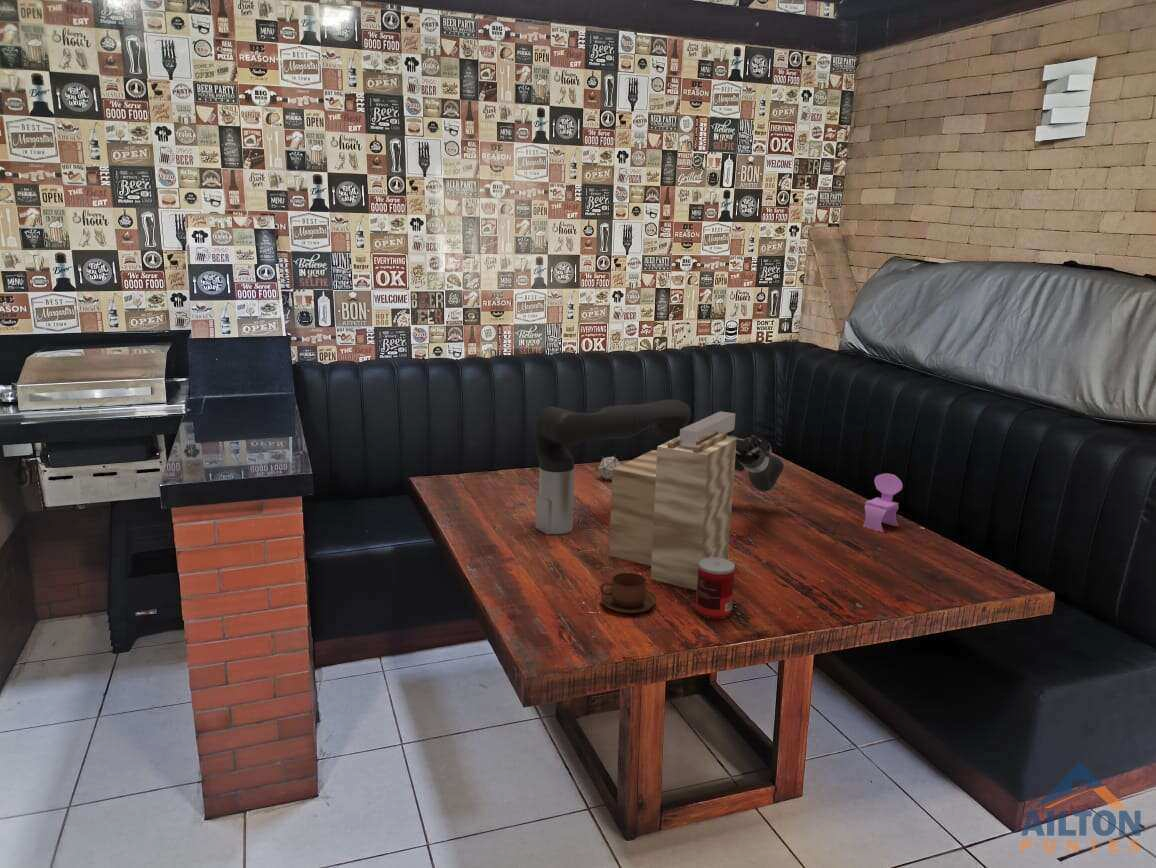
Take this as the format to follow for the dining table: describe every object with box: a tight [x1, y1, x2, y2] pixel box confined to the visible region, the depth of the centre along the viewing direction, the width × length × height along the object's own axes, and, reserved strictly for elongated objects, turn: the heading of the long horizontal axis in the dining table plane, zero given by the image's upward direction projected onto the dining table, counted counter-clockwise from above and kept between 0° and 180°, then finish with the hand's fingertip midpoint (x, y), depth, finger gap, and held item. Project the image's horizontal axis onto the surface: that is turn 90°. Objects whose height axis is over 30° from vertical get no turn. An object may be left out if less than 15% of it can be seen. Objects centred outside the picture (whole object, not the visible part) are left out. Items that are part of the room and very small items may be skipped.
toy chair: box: [862, 473, 903, 534], centre depth 236 cm, size 8×9×15 cm
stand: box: [608, 432, 737, 591], centre depth 207 cm, size 30×27×33 cm
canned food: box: [695, 557, 736, 618], centre depth 181 cm, size 8×8×11 cm
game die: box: [594, 454, 623, 482], centre depth 274 cm, size 9×8×10 cm
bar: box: [679, 411, 736, 449], centre depth 199 cm, size 24×4×4 cm, turn 149°
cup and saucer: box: [599, 572, 657, 614], centre depth 183 cm, size 12×12×6 cm
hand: (735, 436), depth 216 cm, fingers open, 8 cm apart
